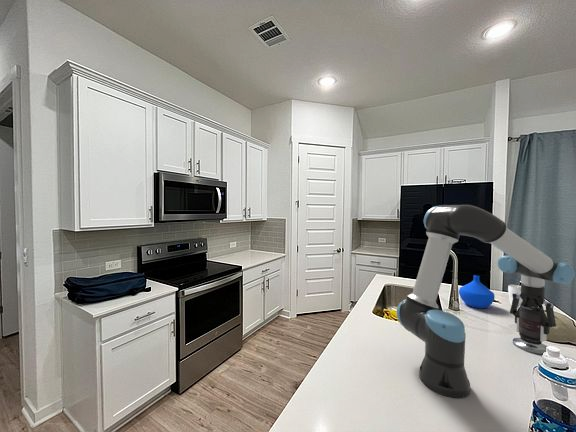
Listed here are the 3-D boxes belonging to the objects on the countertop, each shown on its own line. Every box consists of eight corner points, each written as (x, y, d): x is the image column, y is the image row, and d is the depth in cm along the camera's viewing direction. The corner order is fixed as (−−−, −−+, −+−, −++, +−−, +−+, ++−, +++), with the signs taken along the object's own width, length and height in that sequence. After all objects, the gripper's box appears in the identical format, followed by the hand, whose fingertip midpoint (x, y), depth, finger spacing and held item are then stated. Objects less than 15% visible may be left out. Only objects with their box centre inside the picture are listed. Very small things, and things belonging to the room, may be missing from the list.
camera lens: (549, 346, 105) (550, 312, 105) (527, 344, 107) (528, 310, 107) (534, 337, 113) (535, 304, 113) (514, 335, 115) (515, 303, 115)
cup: (530, 307, 156) (531, 288, 156) (516, 307, 156) (516, 288, 156) (517, 302, 165) (518, 284, 165) (504, 302, 165) (504, 284, 165)
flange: (539, 357, 103) (539, 353, 103) (506, 342, 114) (506, 339, 114) (557, 352, 106) (557, 349, 106) (523, 338, 118) (523, 335, 118)
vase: (462, 298, 172) (463, 271, 172) (496, 306, 159) (497, 276, 158) (455, 305, 160) (455, 275, 159) (491, 313, 146) (492, 281, 146)
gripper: (570, 291, 101) (568, 346, 101) (511, 278, 121) (509, 324, 121) (558, 293, 99) (556, 349, 99) (500, 279, 118) (499, 326, 119)
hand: (531, 335), depth 110 cm, fingers closed on camera lens, 8 cm apart
